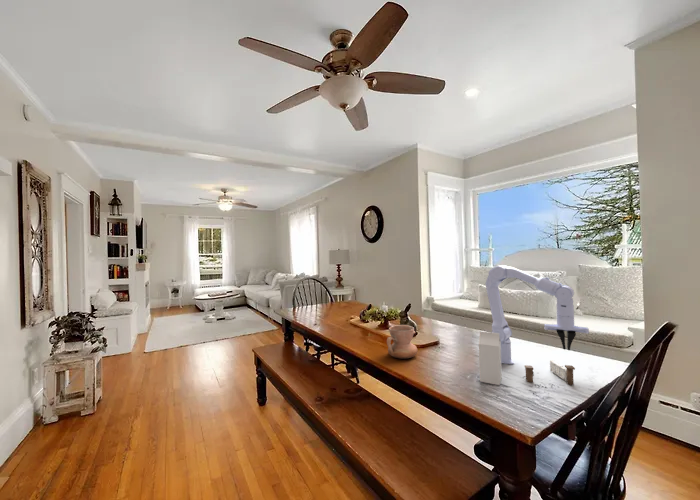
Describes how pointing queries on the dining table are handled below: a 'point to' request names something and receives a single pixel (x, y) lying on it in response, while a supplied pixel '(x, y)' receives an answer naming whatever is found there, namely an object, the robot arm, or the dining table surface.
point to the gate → (558, 370)
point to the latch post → (529, 373)
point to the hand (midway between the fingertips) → (566, 349)
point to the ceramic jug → (401, 342)
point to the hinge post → (570, 374)
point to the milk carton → (490, 358)
